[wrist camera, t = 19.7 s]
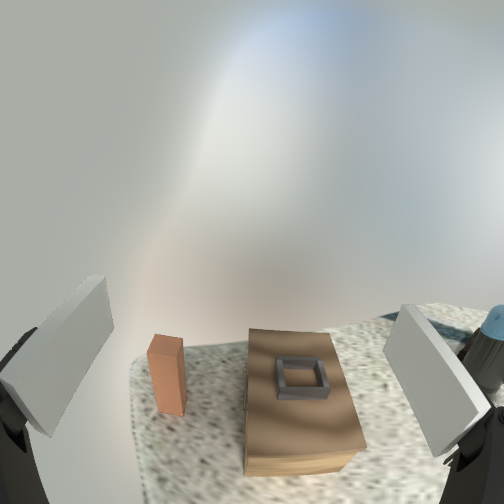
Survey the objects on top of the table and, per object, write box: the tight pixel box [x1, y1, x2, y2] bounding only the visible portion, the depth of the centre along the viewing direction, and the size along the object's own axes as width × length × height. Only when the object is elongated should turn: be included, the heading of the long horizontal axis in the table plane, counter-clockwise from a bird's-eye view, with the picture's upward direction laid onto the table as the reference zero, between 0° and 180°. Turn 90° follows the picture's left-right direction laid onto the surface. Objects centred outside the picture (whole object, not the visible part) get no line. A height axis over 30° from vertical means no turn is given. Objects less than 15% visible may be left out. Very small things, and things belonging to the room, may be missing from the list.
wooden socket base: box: [244, 329, 367, 476], centre depth 37 cm, size 25×15×11 cm, turn 0°
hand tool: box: [457, 328, 481, 362], centre depth 53 cm, size 19×4×5 cm, turn 117°
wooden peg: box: [147, 334, 187, 416], centre depth 36 cm, size 4×4×14 cm
